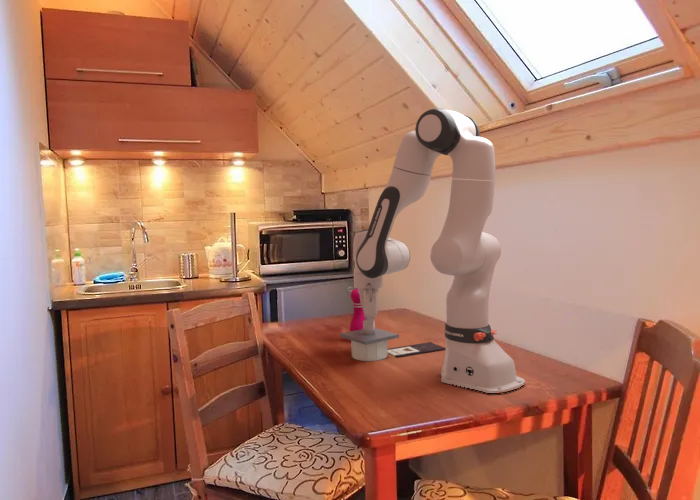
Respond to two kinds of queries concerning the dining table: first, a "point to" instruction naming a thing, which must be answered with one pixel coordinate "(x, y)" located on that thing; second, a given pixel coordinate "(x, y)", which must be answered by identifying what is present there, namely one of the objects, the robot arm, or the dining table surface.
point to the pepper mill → (357, 312)
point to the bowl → (369, 351)
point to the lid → (369, 335)
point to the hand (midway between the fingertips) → (369, 325)
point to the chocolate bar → (414, 349)
